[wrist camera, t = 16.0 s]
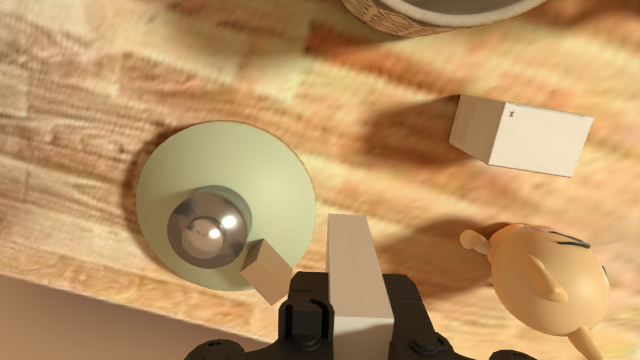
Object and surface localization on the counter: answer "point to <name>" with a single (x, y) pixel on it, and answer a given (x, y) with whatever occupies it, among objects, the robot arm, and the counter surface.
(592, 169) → the counter surface
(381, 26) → the planter
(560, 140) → the small box
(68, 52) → the counter surface
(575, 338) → the kitten
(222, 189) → the cover
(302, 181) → the turntable
